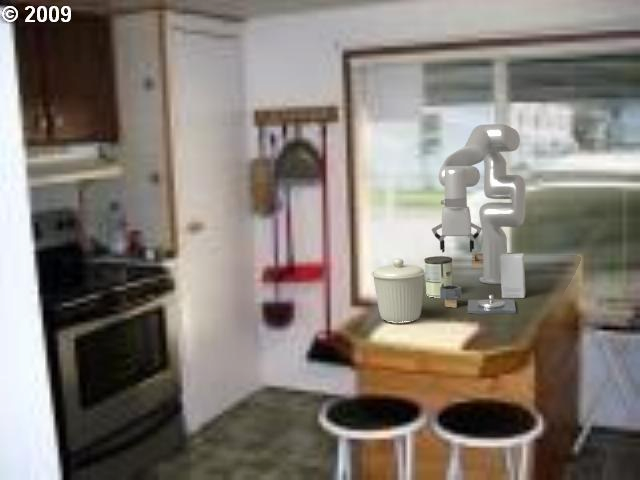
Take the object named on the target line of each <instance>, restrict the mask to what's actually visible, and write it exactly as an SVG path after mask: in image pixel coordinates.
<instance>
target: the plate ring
mask: <svg viewBox="0 0 640 480" xmlns="http://www.w3.org/2000/svg"><path fill="white" fill-rule="evenodd" d="M439 299H443V300H445V299H446V300H448V299H457V300H458V299H462V286H461V285H456V284H453V285H446V286H442V287H440V298H439Z"/></svg>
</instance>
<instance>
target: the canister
mask: <svg viewBox="0 0 640 480" xmlns="http://www.w3.org/2000/svg"><path fill="white" fill-rule="evenodd" d="M425 274H426V271H425V268H422V267H421V266H418V265H414V264H404V259H402V258H398V257H397V258H394V259H393V260H392V264H389V265H383V266H380V267H378V268H376V269H375V270H373V271H372V272H371V276H372V277H373V281H374V289H375V294H376V295H375V296H376V301H377V307H378V311H379V315H380V318H381V319H382V320H383V319H384V320H386V321H393V322H402V321H403V322H404V321H412V320H416V319H417V320H418V319H419V318H420V316H421V314H422V306H423V295H424V294H423V293H424V283H425V282H424V281H425V279H424V278H425ZM384 320H383V321H384ZM417 320H416V321H417ZM386 321H385V322H386Z"/></svg>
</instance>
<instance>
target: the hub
mask: <svg viewBox="0 0 640 480" xmlns="http://www.w3.org/2000/svg"><path fill="white" fill-rule="evenodd" d="M468 313H475V314H474V315H476V314H477V313H478V314H479V315H480V314H485V315H487V314H488V315H489V314H491V315H492V314H495V315H496V314H505V315H506V314H509V315H510V314H511V315H512V314H517V309H516V303H515V298H510V299H496V298H495V299H494V294H488V299H468V300H467V314H468ZM478 314H477V315H478Z"/></svg>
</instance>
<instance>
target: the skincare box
mask: <svg viewBox="0 0 640 480" xmlns="http://www.w3.org/2000/svg"><path fill="white" fill-rule="evenodd" d="M500 269H501V284H500V287H501V299H524V298H525V296H526V275H525V274H526V273H525V272H526V271H525V253H516V254H502V255H501V256H500Z"/></svg>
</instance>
